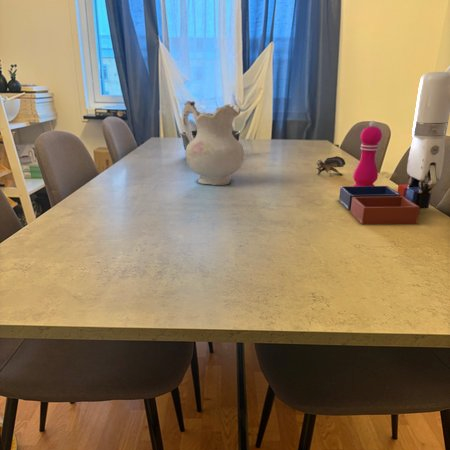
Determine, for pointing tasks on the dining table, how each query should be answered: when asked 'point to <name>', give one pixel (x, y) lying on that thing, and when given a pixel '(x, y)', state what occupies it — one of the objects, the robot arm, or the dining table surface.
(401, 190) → the red block
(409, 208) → the red bin
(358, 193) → the blue bin
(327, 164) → the brown insect figurine
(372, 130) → the pepper mill
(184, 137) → the bundt pan
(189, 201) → the dining table surface
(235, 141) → the ceramic pitcher
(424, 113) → the robot arm
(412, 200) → the blue block
